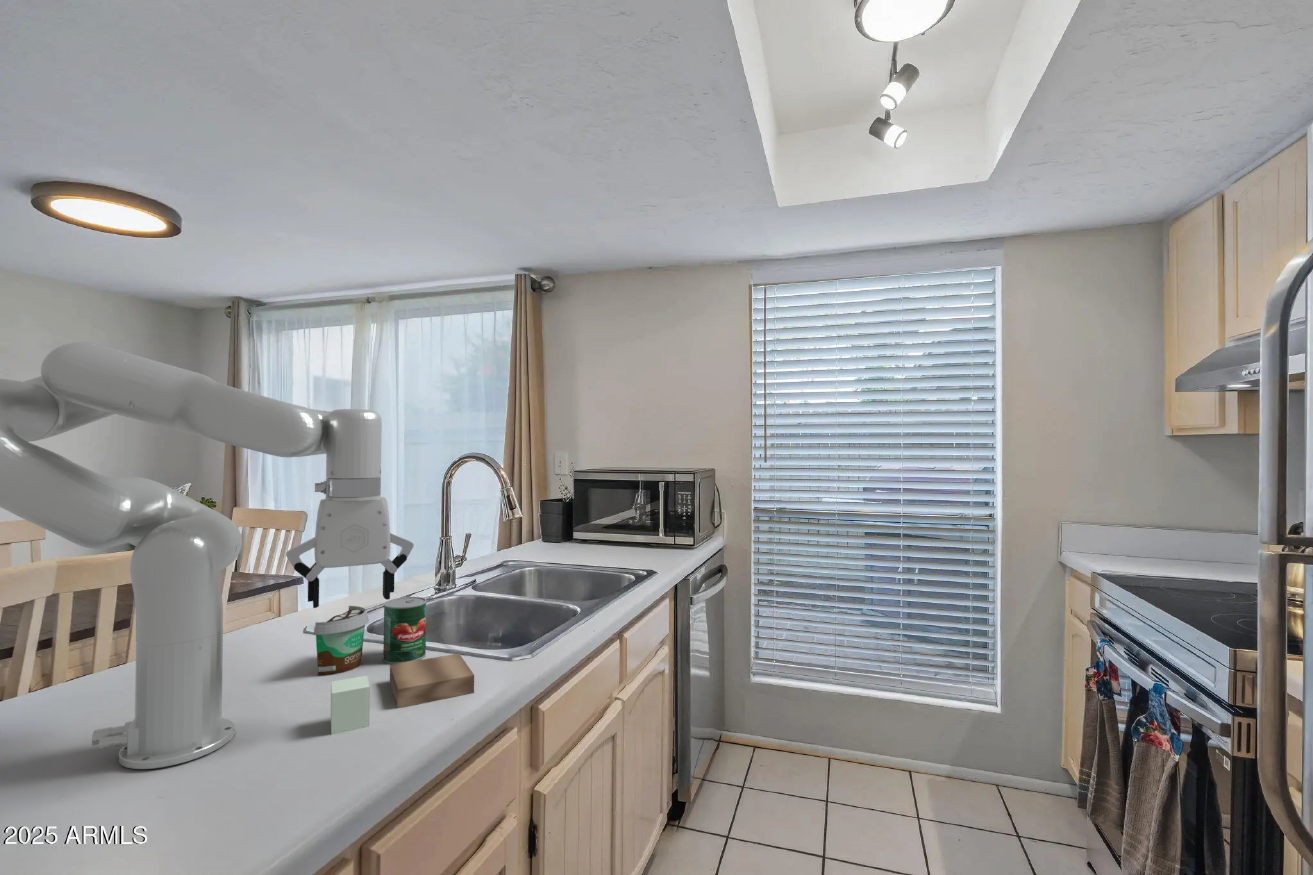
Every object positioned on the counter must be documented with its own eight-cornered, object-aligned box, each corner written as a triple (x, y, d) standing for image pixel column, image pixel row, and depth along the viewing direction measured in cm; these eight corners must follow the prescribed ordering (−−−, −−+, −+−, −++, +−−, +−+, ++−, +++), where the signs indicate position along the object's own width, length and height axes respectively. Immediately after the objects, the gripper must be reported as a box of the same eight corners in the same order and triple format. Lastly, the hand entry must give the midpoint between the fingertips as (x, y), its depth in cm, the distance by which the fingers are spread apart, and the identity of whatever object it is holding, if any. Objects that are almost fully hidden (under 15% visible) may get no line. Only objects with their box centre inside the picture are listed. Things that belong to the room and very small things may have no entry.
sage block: (331, 734, 86) (332, 693, 86) (330, 720, 91) (331, 681, 91) (369, 726, 89) (369, 686, 89) (366, 713, 93) (367, 675, 93)
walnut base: (398, 707, 95) (398, 689, 95) (389, 681, 105) (389, 664, 105) (474, 692, 101) (474, 674, 101) (459, 669, 111) (459, 653, 111)
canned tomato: (406, 666, 113) (406, 608, 113) (373, 661, 115) (374, 605, 115) (434, 652, 120) (435, 598, 120) (403, 648, 123) (403, 595, 123)
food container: (346, 679, 106) (347, 623, 107) (312, 678, 107) (313, 623, 107) (380, 655, 119) (380, 605, 119) (349, 654, 119) (350, 604, 119)
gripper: (286, 493, 83) (284, 615, 83) (417, 489, 92) (416, 600, 92) (287, 489, 89) (285, 603, 89) (410, 486, 98) (408, 589, 98)
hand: (351, 601), depth 90 cm, fingers open, 9 cm apart
